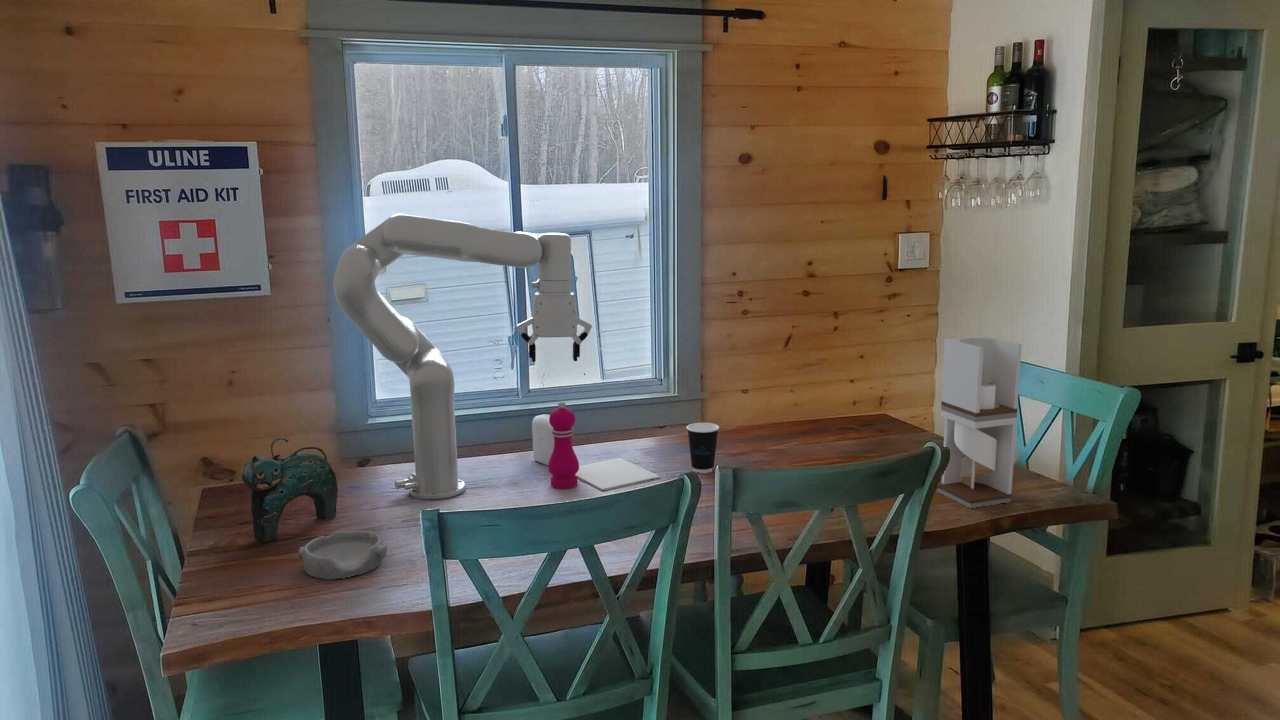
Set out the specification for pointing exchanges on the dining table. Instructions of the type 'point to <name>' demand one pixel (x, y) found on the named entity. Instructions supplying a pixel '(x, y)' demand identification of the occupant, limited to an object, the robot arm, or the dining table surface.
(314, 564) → the dish
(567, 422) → the pepper mill
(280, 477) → the ceramic cat
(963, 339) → the architectural model tower
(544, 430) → the photo printer
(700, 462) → the dixie cup
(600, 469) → the mat
